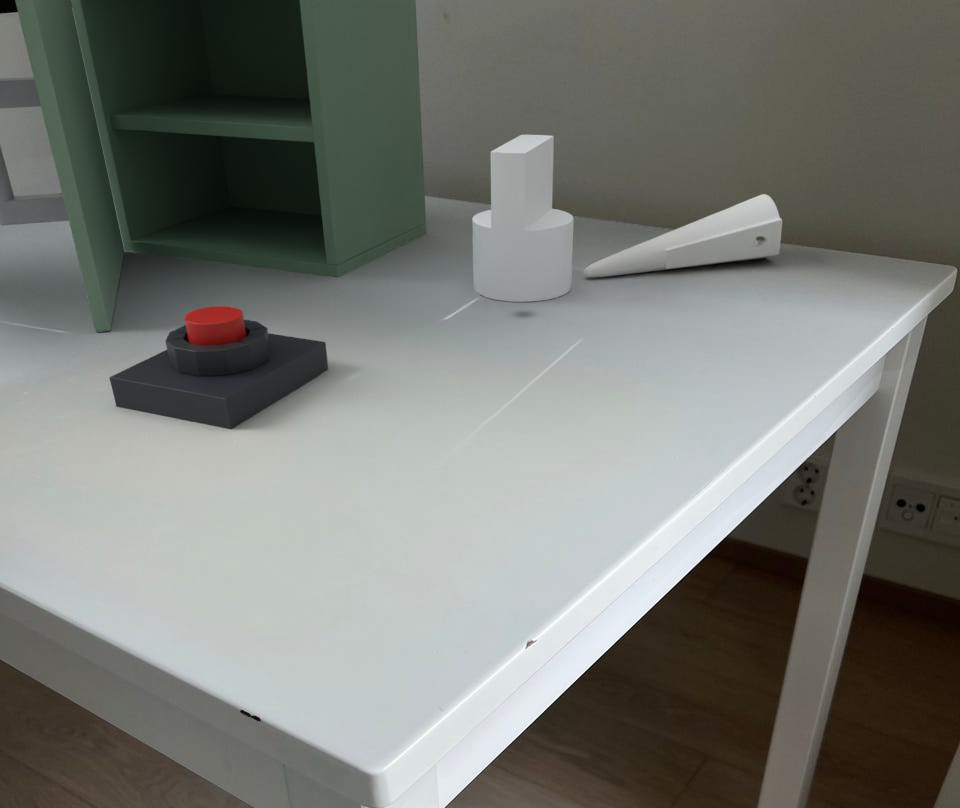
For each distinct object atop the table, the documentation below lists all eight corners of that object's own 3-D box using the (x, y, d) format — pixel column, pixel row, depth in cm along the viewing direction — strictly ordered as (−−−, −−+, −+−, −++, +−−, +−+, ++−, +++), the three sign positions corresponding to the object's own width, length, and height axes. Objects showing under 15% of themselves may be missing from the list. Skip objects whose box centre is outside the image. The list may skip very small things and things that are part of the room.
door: (21, 339, 82) (-80, -10, 68) (53, 257, 103) (-19, -23, 89) (110, 331, 83) (30, -14, 69) (124, 251, 104) (65, -26, 90)
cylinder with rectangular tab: (491, 270, 97) (490, 132, 90) (582, 277, 94) (587, 136, 87) (459, 297, 90) (455, 150, 83) (555, 305, 87) (559, 155, 80)
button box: (231, 430, 67) (221, 372, 64) (116, 407, 70) (102, 351, 68) (328, 370, 75) (323, 317, 73) (221, 352, 79) (213, 301, 77)
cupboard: (338, 278, 95) (308, -29, 81) (124, 251, 105) (64, -28, 91) (426, 234, 108) (414, -37, 94) (229, 214, 118) (191, -35, 104)
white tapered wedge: (567, 279, 99) (749, 244, 102) (587, 305, 95) (778, 267, 97) (565, 221, 96) (754, 185, 98) (586, 245, 91) (784, 206, 93)
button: (223, 352, 69) (218, 326, 68) (177, 344, 70) (172, 319, 69) (257, 334, 71) (254, 309, 70) (212, 327, 73) (208, 303, 72)
